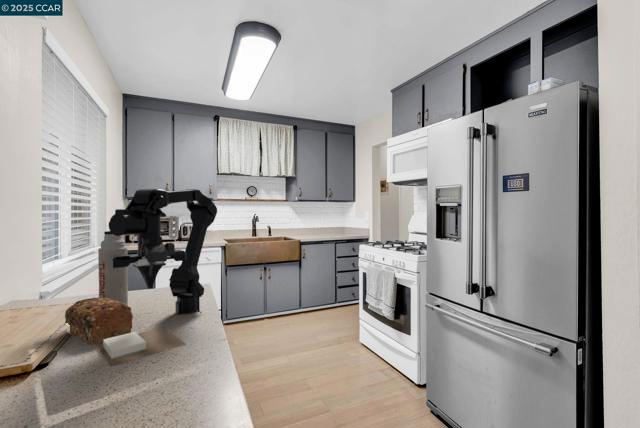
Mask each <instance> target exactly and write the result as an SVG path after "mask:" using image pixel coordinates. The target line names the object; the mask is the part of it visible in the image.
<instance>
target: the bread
mask: <svg viewBox="0 0 640 428" xmlns="http://www.w3.org/2000/svg"><path fill="white" fill-rule="evenodd" d="M133 315H134V314H133V313H132V307H131V306H129V304H128V305H126V304H124V303H122V302H119V301H117V300H113V299H108V298H104V297H100V298H99V297H92V298H84V299H81V300H77V301H76V302H75V303H74V304H72V305H71V306H69V307H68V308H67V309H66V310H65V312H64V319H65V321H64V324H65V323H68V324H69V325H70V335H69V336H72V335H74V336H76V337H78V338H79V339H81V340H83V341H84V342H86V343H87V344H89V345H94V344H98V343H102V342H103V339H107V338H111V337H116V336H120V335H124V334H128V333H132V329H133V319H134V318H133Z"/></svg>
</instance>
